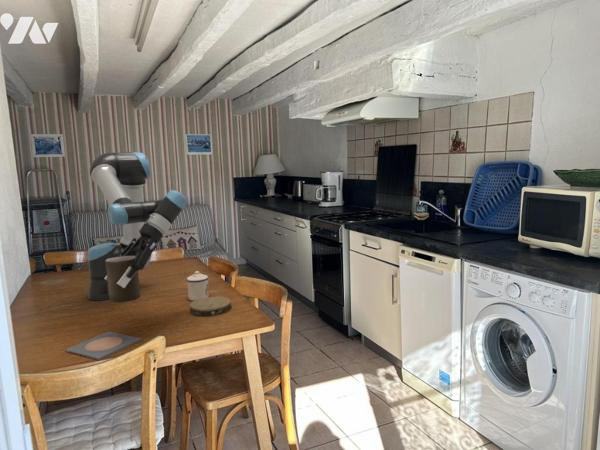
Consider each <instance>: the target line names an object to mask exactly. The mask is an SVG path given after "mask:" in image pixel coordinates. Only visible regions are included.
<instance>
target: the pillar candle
mask: <svg viewBox="0 0 600 450" xmlns="http://www.w3.org/2000/svg"><path fill="white" fill-rule="evenodd" d="M120 256H121V255H120ZM135 257H136V256H121V257H114V258H109V259H107V260H106V270H107V280H108V291H109V299H108V300H109V302H110V303H118V304H119V303H127V302H132V301H136V300H137V299H139V298H140V297H141V289H140V280H139V279H140V278H139V271H137V272H136V273H135V274H134V276H133V277H132V278H131V280H130V281H129V283H128V284H127V285H126V287H125V288H123V287H121V286H120V285H118V284H117V282H118V281H119V280H120V278H121V277H122V276H123V274H124V273H125V272H126V270H127V269H128V268H129V267H131V266H130V265H131V264H133V261H134V259H135ZM131 268H132V267H131Z"/></svg>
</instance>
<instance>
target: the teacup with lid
mask: <svg viewBox="0 0 600 450" xmlns="http://www.w3.org/2000/svg"><path fill="white" fill-rule="evenodd" d="M186 284H187V294H188V299H189V300H190V301H192V302H194V301H196V300H198V299H202V298H207V297H210V290H209V276H208V275H207V274H203V273H200V271H198V270H197V271H195V272H194V273H193V274H191V275H189V276H188V277H187V278H186Z"/></svg>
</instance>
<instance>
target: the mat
mask: <svg viewBox="0 0 600 450" xmlns="http://www.w3.org/2000/svg"><path fill="white" fill-rule="evenodd" d="M140 341H142V338H141V337H136V336H132V335H127V334H123V333H118V332H113V331H107V332H103V333H102V334H99V335H97V336H95V337H92V338H90V339H87V340H85V341H82V342H79V343H78V344H76V345H72V346H69V348H66V349H64V352H65V351H69V352H72V353H71V354H73V353H76V354H79V355H78V356H80V355H82V356H81V357H84V356H86V357H85V358H88V357H89V359H93V360H96V361H100V360H102V359H105V358H107V357H109V356H111V355H113V354H115V353H118V352H119V351H122V350H124V349H126V348H128V347H130V346H132V345H134V344H136V343H138V342H140ZM69 352H68V353H69ZM76 354H75V355H76Z"/></svg>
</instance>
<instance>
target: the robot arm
mask: <svg viewBox="0 0 600 450" xmlns="http://www.w3.org/2000/svg"><path fill="white" fill-rule="evenodd" d="M89 176H90V178H91V180H92V182H93V183H95V184H96V185H98V188H99V189H100V190H101V193H102V194H103V196H104V197H105V199H106V202H107V203H108V205H109V206H107V207H108V208H107V215H108V219H109V223H110V224H112V225H113V226H119V225H122V229H123V231H122V234H123V237H121V239H120V240H119V244H117V245H116V243H115V242H104V243H101V244H97V245H94V246H91V247H89V248H88V250H87V262H88V263H87V264H88V271H89V279H90V281H89V286H88V290H87V299H88V300H91V301H104V300H110V299H109V291H108V280H107V270H106V260H107V259H109V258H114V257H121V256H136V257H135V259H134V261H133V264H131V265H130V266H131V267H132V268H131V267H129V268H128V269H127V270H126V272H125V273H124V274H123V276H122V277H121V278H120V280H119V281H118V282H117V284H118V285H120V286H121V287H123V288H125V287H126V285H127V284H128V283H129V281H130V280H131V278H132V277H133V276H134V274H135V273H136V272H137V271H138V272H139V271H142V270H143V269H144V268H145V267H146V266H148V265H149V264H150V262H151V259H152V255H153V254H152V253H153V252H154V251H155V249H156V248H157V245H156V244H159V243H160V241H161V240H162V238H163V237H164V235H165V234H167V232H168V231H169V229H170V228H171V227H172V224H174V222H175V221H176V219H177V218H178V217H179V215H180V214H181V212H182V211H183V210H184V209H185V207H186V205H187V203H188V199H187V198H186V197H185V195H183V194H182V193H181V192H179V191H177V190H175V189H172V190H169V192H168V193H167V194H166V195H165V196H164V198H162V199H161V198H160V199H158V200H148V201H143V200H144V199H143V187H144V186H145V185H146V184H147V181H146V179H147V180H148V179H150V177H151V166H150V162H149V160H148V157H147V156H146V155H145V154H144V153H143V152H136V151H128V152H127V151H126V152H121V151H120V152H103V153H102V154H99V155H98V156H96V157H95V159H94V160H93V161H92V162H91V164H90V167H89ZM120 255H121V256H120Z"/></svg>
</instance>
